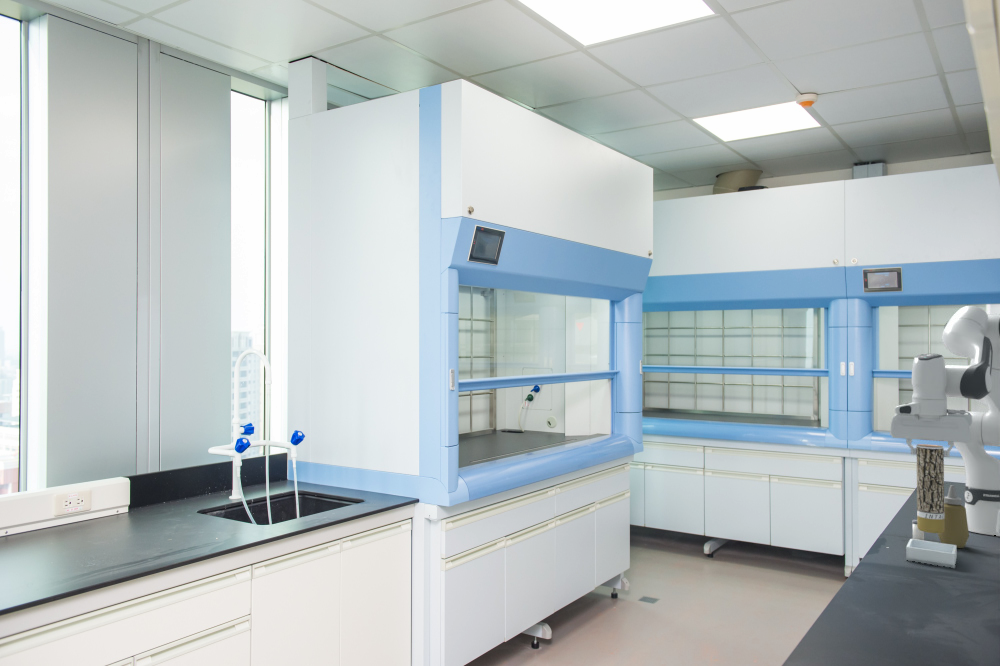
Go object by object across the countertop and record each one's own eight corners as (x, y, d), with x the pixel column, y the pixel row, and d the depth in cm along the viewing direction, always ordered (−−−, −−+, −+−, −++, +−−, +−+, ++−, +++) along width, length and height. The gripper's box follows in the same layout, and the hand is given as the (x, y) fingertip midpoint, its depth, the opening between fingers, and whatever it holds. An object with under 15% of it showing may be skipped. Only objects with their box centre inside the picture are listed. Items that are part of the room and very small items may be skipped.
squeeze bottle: (974, 550, 201) (973, 488, 202) (943, 548, 203) (943, 487, 204) (961, 543, 209) (961, 484, 210) (932, 541, 211) (932, 482, 212)
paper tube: (912, 528, 204) (911, 444, 205) (933, 528, 205) (932, 444, 206) (928, 534, 198) (927, 447, 199) (950, 533, 198) (949, 447, 199)
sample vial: (920, 539, 214) (920, 519, 214) (926, 541, 211) (926, 522, 211) (910, 538, 214) (909, 519, 214) (916, 541, 211) (916, 521, 211)
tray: (910, 551, 199) (910, 538, 199) (956, 558, 192) (956, 545, 192) (906, 560, 190) (906, 546, 190) (954, 568, 183) (954, 554, 183)
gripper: (972, 409, 199) (972, 457, 199) (891, 406, 211) (892, 451, 211) (971, 411, 194) (972, 460, 194) (889, 407, 206) (889, 453, 205)
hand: (929, 455), depth 202 cm, fingers closed on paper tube, 7 cm apart
